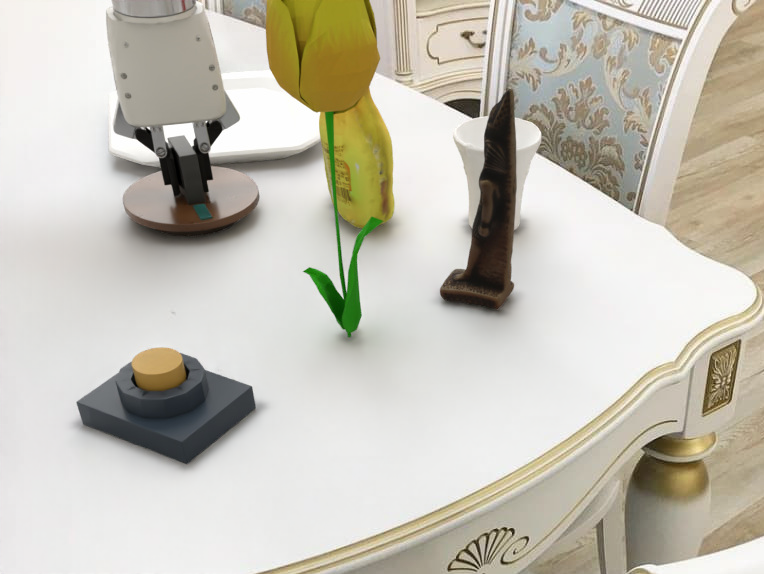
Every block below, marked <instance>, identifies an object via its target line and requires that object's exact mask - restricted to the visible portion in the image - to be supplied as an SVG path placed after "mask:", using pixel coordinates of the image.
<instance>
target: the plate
mask: <svg viewBox="0 0 764 574" xmlns="http://www.w3.org/2000/svg"><path fill="white" fill-rule="evenodd" d="M221 76H222V81H223V86H224V89H225V91H226V93H227V94H228V96H229V97H230V99H231V101H232V102H233V104H234V106H235V107H236V109H237V110H238V113H239V115H240V120H239V121H238V122H237V123H235V124H234V125H232V126H230V127H229V128H227V129H224V130H223V131H222V132H221V134H220V135H219V136H218V138H217V139H216V140H215V142H214V143H213V144H212V146H211V149H210V151H209V152H208V153H209V159H210V164H211V166H215V165H224V164H225V165H226V164H236V163H237V164H239V163H249V162H250V163H251V162H260V161H263V162H264V161H273V160H274V161H275V160H282V159H285V158H288V157H292V156H294V155H297V154H300V153H302V152H304V151H306V150H308V149H310V148H312V147H313V146H316V145H317V144H318V143H321V139H320V131H319V117H320V112H318V113H316V112H314V111H312V110H311V109H309V108H308V107H306V106H305V105H304V104H302V103H301V102H299V101H298V100H296V99H295V98H293V97H292V96H291V95H290V94H288V93H287V92H286V91H285V90H284V89H282V88H281V87H280V86H279V84H278V83H277V81H276V79H275V78H274V76H273V74H272V72H271V70H270V69H266V70H252V71H251V70H250V71H238V72H221ZM117 100H118V95H117V90H116V89H113V91H111V92H110V93H109V94H108V152H109V154H111V155H112V156H113V157H117V158H121V159H123V160H126V161H128V162H129V161H130V162H132V163H136V164H139V165H142V166H148V167H153V168H159V169H161V166H160V161H159V157H157V156H156V154H155V153H154V152H153V151H151V150H150V149H149V148H147V147H146V146H144V145H143V144H142V143H140V142H139V141H138V140H136V139H131V138H128V137H125V136H121V135H118V134H116V133H115V132H114V130H113V119H114V114H115V109H116V105H117ZM205 122H206V123H207V121H205ZM147 128H148V129H149V130H150V127H147ZM163 130H164V136H165V141H166V142H167V143H168V139H167V138H169V137H175V136H182V135H184V136H185V137H186V139H187V140H188V142H189V143H190V145H191V146H194V141H193V140H194V139H195V133H194V128H193V124H192V123H185V124H175V125H165V126H163ZM168 145H169V144H168Z"/></svg>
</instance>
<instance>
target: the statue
mask: <svg viewBox="0 0 764 574" xmlns="http://www.w3.org/2000/svg"><path fill="white" fill-rule="evenodd" d="M488 116H489V118H488V121H487V126H486V129H485V133H484V158H485V160H484V166H483V169H482V171H481V174H480V177H479V188H480V201H479V205H478V209H477V213H476V216H475V219H474V223H473V227H472V228H471V243H470V248H469V251H468V252H469V253H468V258H467V264H466V268H465V269H464V268H455V269H453V270H452V271H451V272H450V274H449V275H448V276H447V278H445V280H444V281H443V283H442V284H441V286H440V288H439V294H440V296H441V298H442V299H443V300H444V301H446V302H452V303H453V302H455V303H462V304H467V305H472V306H477V307H482V308H486V309H490V310H499V309H500V308H501V307H502V306H503V305H504V304H505V302H506V301H507V299H509V297H510V296H511V294H512V292H513V291H514V288H515V283H514V282H513V280H512V258H513V253H514V252H513V251H514V250H513V249H514V248H513V247H514V246H513V245H514V237H515V235H514V234H515V230H514V221H515V206H516V190H517V178H516V130H515V118H516V116H515V93H514V89H512V88H509V89H507V90H506V91H505V92H504V93H503V94H502V96H501V97H500V100H499V101H498V102H496V103H495V104H494V105H493V106H492V108H491V109H490V112H489V114H488Z"/></svg>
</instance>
